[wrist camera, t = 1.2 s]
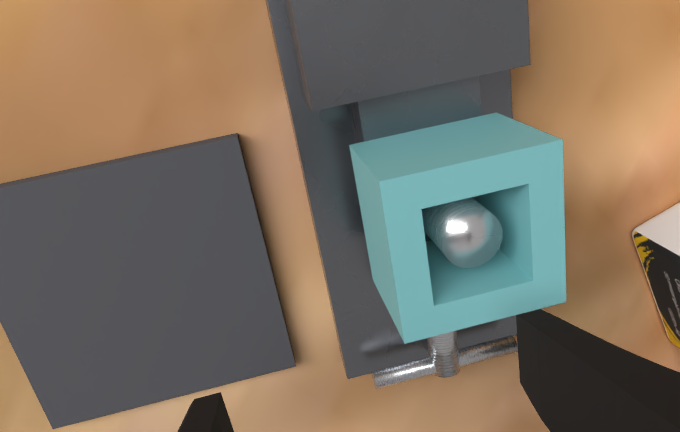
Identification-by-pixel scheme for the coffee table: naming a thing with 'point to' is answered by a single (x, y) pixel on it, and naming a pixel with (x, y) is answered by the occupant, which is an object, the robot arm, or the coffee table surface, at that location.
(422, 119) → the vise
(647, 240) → the medicine bottle
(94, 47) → the coffee table surface
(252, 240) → the mat
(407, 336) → the collar
